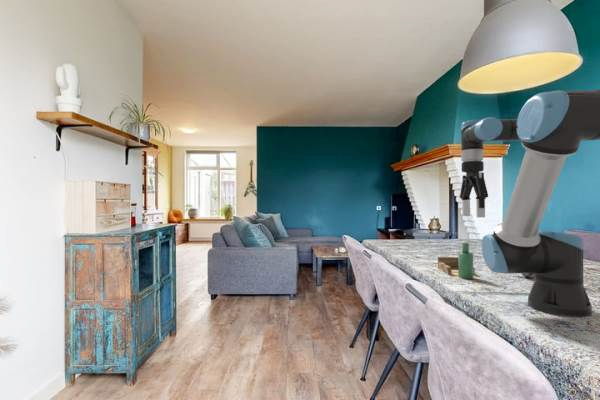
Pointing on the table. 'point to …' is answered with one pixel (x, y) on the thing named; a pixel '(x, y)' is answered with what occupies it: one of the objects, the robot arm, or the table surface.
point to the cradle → (451, 267)
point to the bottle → (465, 262)
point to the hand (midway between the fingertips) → (473, 216)
